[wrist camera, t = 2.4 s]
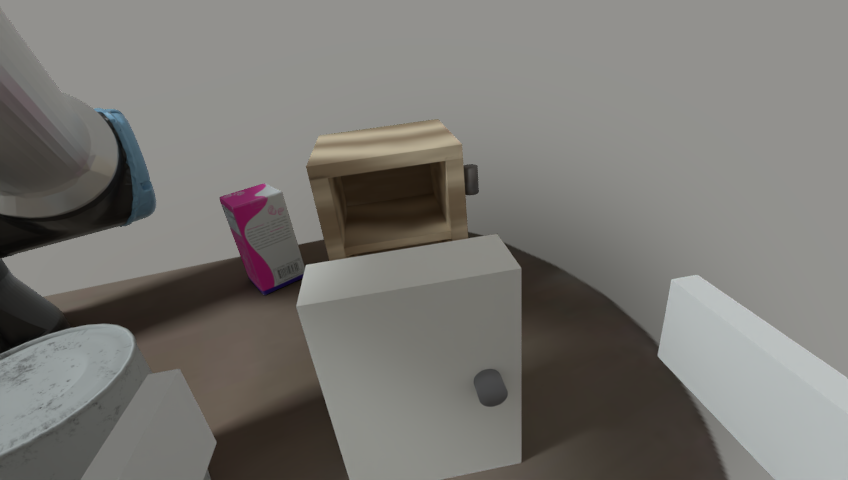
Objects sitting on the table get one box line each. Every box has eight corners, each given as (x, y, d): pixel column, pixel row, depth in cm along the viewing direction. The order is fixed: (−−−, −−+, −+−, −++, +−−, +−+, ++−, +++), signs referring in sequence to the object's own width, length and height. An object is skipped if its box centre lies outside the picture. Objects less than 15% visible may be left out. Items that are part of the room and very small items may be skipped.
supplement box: (290, 261, 56) (266, 181, 51) (308, 276, 52) (284, 191, 46) (247, 278, 53) (217, 195, 48) (262, 296, 48) (231, 207, 43)
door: (355, 442, 30) (305, 264, 23) (502, 413, 31) (497, 233, 24) (354, 517, 25) (292, 322, 18) (528, 480, 26) (530, 281, 19)
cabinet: (349, 270, 52) (319, 135, 44) (460, 251, 53) (450, 117, 45) (343, 400, 33) (289, 207, 25) (515, 368, 34) (513, 173, 27)
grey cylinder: (220, 437, 31) (155, 307, 26) (199, 576, 23) (97, 429, 18) (78, 483, 29) (-27, 351, 24) (-1, 654, 21) (-190, 514, 15)
